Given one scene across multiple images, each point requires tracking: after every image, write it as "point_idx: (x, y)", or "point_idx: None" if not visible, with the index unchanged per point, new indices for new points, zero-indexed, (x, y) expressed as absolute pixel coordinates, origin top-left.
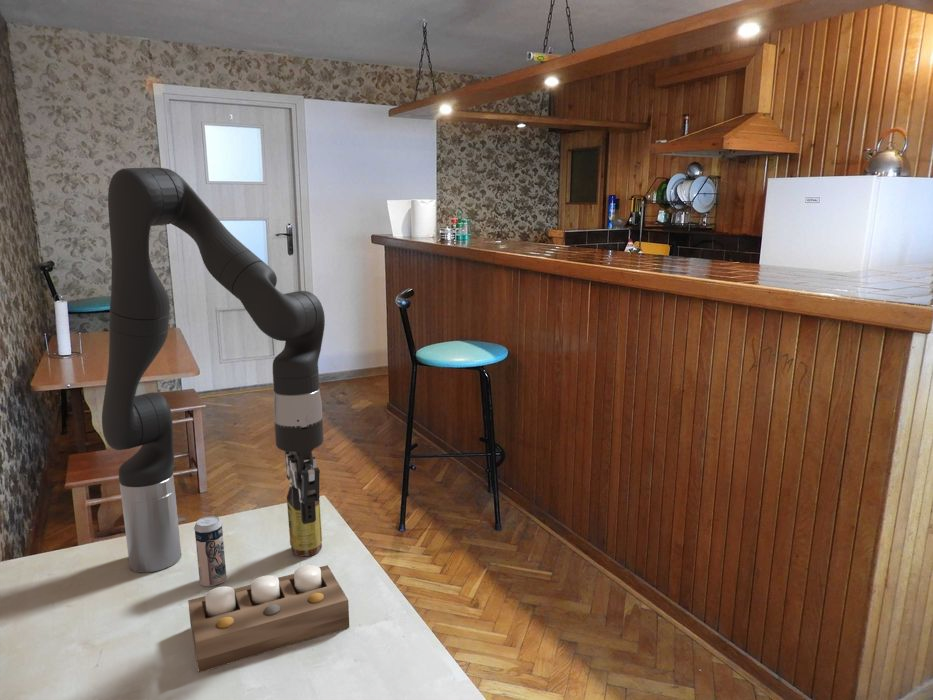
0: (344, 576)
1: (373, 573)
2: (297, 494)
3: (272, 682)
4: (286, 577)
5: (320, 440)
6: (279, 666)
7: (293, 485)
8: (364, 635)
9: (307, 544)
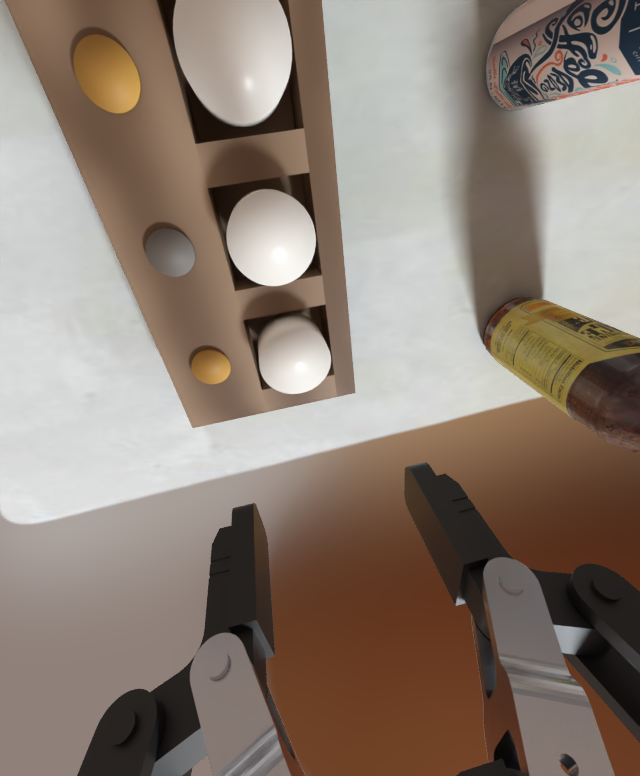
0: (377, 390)
1: (364, 435)
2: (440, 543)
3: (4, 225)
4: (337, 297)
5: None
6: (71, 245)
7: (483, 590)
8: (169, 412)
9: (500, 341)
